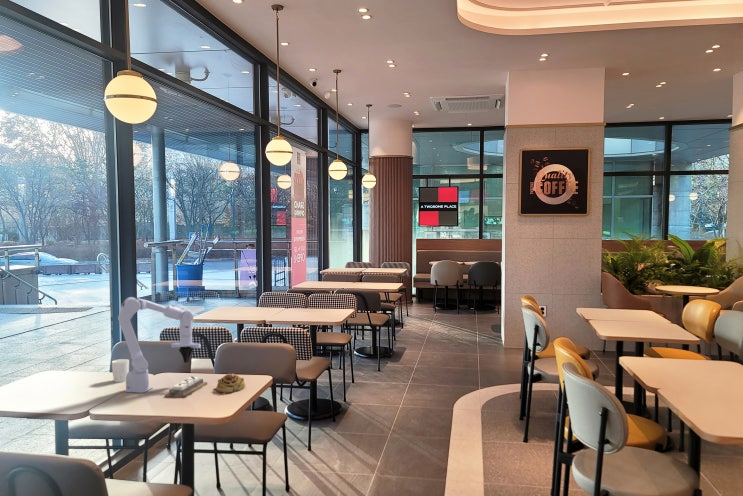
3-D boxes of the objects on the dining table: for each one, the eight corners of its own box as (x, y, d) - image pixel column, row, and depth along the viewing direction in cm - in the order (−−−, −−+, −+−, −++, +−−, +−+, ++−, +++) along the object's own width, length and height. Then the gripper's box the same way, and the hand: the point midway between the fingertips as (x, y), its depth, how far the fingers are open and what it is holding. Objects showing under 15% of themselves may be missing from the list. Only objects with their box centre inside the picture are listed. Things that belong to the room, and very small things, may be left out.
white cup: (125, 382, 263) (124, 362, 263) (109, 382, 264) (108, 362, 263) (132, 378, 271) (131, 358, 271) (117, 378, 271) (116, 359, 271)
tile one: (172, 392, 242) (172, 385, 241) (178, 389, 246) (177, 382, 246) (182, 393, 241) (181, 385, 241) (187, 390, 245) (187, 383, 245)
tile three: (186, 385, 253) (186, 378, 253) (191, 382, 258) (191, 375, 258) (195, 385, 253) (195, 378, 253) (199, 382, 257) (199, 376, 257)
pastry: (216, 394, 242) (215, 377, 242) (216, 385, 257) (216, 369, 257) (245, 392, 246) (245, 375, 246) (244, 383, 260) (244, 367, 260)
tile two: (179, 389, 248) (179, 381, 247) (184, 386, 252) (184, 379, 252) (188, 389, 247) (188, 382, 247) (193, 386, 251) (193, 379, 251)
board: (164, 396, 240) (164, 390, 240) (188, 383, 261) (188, 377, 261) (185, 397, 238) (184, 391, 238) (207, 384, 259) (207, 378, 259)
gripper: (203, 333, 263) (204, 360, 264) (176, 332, 266) (177, 359, 266) (196, 336, 256) (197, 364, 257) (168, 335, 259) (169, 363, 259)
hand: (186, 362), depth 261 cm, fingers closed
